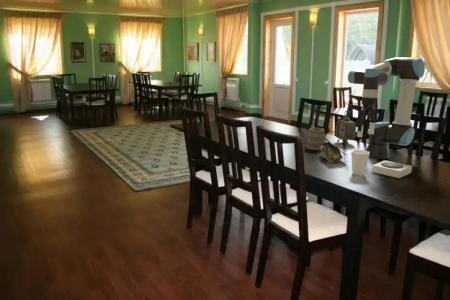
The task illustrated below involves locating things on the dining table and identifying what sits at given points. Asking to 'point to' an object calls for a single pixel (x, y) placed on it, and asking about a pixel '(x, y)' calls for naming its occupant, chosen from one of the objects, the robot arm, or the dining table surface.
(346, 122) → the tabletop clock
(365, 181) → the dining table surface
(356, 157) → the foam cup
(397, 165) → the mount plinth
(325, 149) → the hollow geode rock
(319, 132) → the tankard
